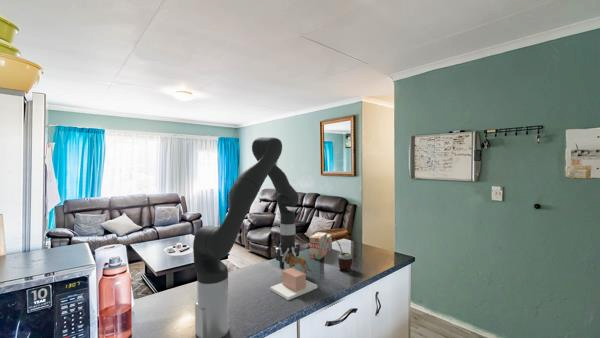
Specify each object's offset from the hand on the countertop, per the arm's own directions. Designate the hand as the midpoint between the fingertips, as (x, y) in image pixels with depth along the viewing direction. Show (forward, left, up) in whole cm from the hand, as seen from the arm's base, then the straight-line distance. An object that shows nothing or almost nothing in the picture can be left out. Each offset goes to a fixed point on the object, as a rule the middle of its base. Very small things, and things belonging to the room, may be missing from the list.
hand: (287, 267), depth 129 cm
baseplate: (-8, -14, -3) cm, 16 cm away
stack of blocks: (+35, +11, -4) cm, 37 cm away
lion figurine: (+2, -4, -1) cm, 4 cm away
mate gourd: (+24, -15, -4) cm, 29 cm away
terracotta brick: (-8, -14, -2) cm, 16 cm away
